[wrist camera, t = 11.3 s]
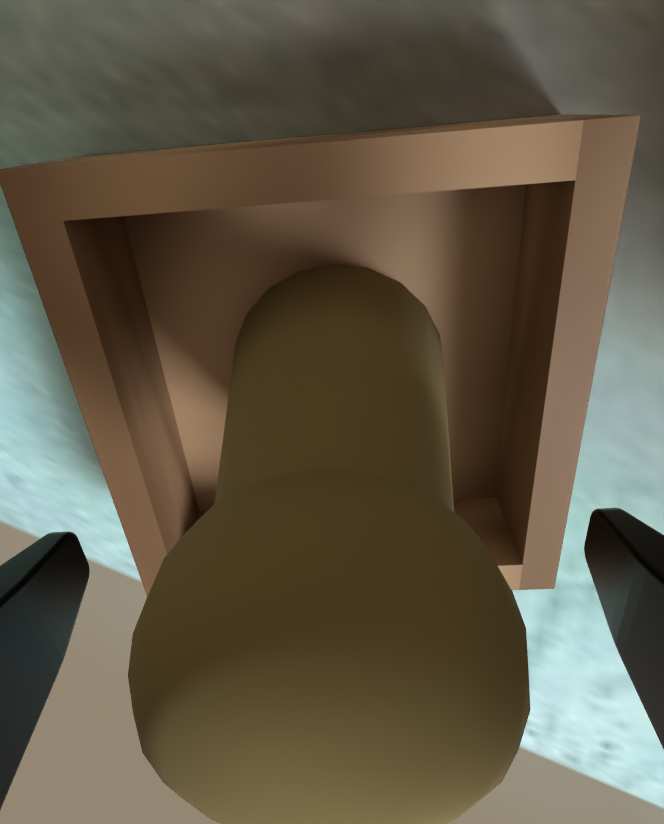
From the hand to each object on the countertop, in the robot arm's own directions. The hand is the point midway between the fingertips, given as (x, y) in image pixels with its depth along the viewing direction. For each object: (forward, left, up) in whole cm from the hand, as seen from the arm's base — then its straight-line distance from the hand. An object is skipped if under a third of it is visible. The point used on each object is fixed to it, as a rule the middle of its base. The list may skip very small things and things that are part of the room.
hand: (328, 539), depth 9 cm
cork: (0, 0, -7) cm, 7 cm away
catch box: (0, 0, -8) cm, 8 cm away
